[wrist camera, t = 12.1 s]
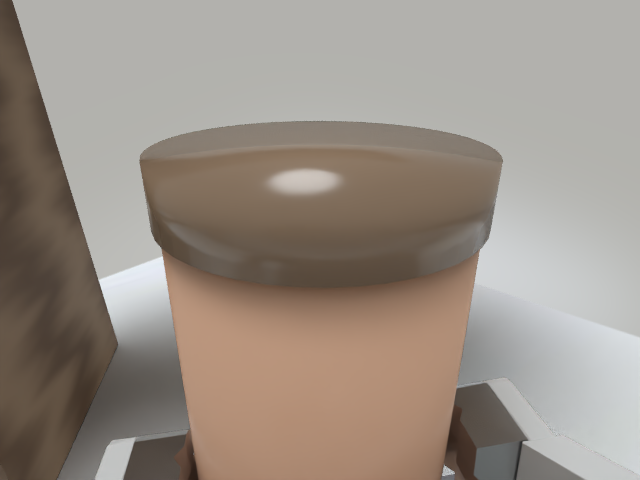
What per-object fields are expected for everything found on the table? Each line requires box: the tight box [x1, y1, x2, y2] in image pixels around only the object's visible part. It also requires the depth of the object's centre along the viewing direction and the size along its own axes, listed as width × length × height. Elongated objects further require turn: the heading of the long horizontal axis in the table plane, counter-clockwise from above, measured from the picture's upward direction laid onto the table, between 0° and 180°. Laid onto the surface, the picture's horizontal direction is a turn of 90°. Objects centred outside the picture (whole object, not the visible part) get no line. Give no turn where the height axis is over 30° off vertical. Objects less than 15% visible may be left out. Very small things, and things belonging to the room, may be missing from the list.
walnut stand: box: [0, 0, 118, 480], centre depth 20 cm, size 13×26×26 cm, turn 99°
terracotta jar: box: [140, 121, 503, 480], centre depth 9 cm, size 5×5×13 cm
